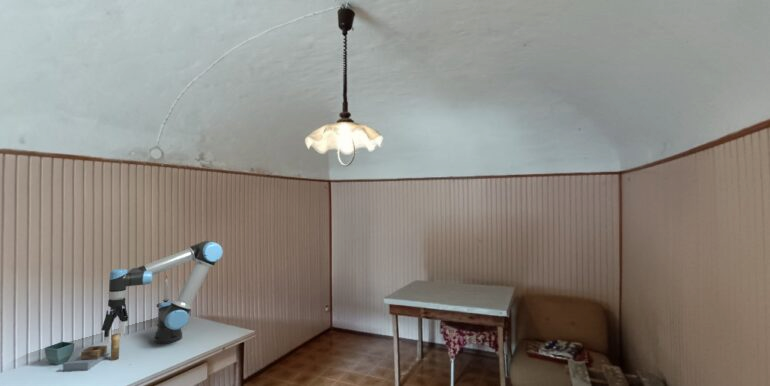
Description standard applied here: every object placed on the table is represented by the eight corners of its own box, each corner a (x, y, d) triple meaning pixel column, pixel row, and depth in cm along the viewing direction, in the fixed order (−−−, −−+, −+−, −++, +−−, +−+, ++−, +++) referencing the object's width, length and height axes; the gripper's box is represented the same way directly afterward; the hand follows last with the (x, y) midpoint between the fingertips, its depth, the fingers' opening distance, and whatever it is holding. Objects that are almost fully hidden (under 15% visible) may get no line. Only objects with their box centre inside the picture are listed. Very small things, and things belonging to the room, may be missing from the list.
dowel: (120, 357, 196) (121, 333, 197) (116, 360, 193) (117, 335, 193) (112, 357, 196) (113, 333, 196) (109, 360, 192) (110, 336, 193)
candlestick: (164, 328, 243) (166, 276, 244) (151, 326, 246) (153, 275, 248) (177, 323, 253) (179, 273, 255) (165, 321, 257) (167, 272, 258)
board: (110, 354, 199) (110, 347, 199) (87, 370, 181) (87, 362, 181) (87, 356, 198) (88, 348, 198) (62, 371, 179) (63, 363, 179)
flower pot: (56, 367, 184) (57, 349, 184) (43, 365, 186) (43, 347, 186) (74, 359, 193) (75, 342, 193) (61, 358, 194) (62, 341, 195)
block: (106, 352, 199) (106, 345, 199) (97, 358, 191) (97, 351, 191) (90, 353, 197) (90, 346, 198) (80, 359, 190) (80, 352, 190)
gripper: (122, 293, 207) (120, 330, 206) (94, 304, 183) (92, 346, 182) (136, 292, 208) (134, 330, 207) (111, 304, 184) (108, 346, 183)
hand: (114, 338), depth 194 cm, fingers open, 13 cm apart
